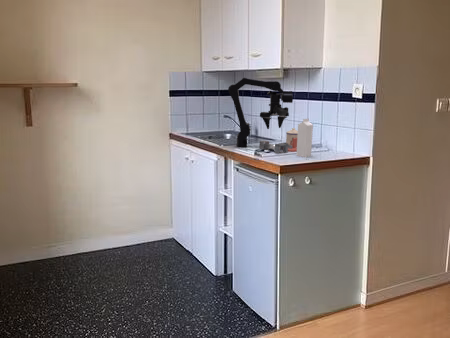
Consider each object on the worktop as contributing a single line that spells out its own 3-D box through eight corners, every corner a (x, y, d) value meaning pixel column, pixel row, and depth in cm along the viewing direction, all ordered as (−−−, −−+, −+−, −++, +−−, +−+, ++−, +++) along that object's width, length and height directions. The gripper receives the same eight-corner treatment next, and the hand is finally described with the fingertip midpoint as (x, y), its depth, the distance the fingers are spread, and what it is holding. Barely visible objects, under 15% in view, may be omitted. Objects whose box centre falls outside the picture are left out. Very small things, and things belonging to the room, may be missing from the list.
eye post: (274, 153, 264) (274, 144, 263) (284, 152, 269) (285, 143, 267) (277, 154, 262) (277, 144, 261) (287, 152, 267) (288, 143, 266)
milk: (310, 158, 259) (313, 118, 254) (305, 159, 254) (308, 119, 249) (301, 156, 262) (304, 117, 258) (295, 158, 258) (298, 118, 253)
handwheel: (292, 152, 267) (293, 140, 266) (279, 150, 273) (280, 139, 271) (303, 149, 276) (303, 138, 274) (290, 148, 281) (290, 137, 280)
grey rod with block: (259, 148, 278) (259, 141, 277) (264, 147, 280) (264, 140, 279) (276, 152, 266) (276, 144, 265) (281, 151, 268) (281, 144, 267)
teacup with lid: (290, 147, 291) (291, 129, 288) (282, 145, 299) (283, 127, 296) (306, 146, 296) (307, 128, 293) (298, 144, 304) (299, 126, 301)
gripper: (272, 104, 265) (271, 131, 268) (295, 103, 276) (294, 129, 279) (259, 102, 274) (258, 128, 277) (283, 101, 284) (281, 127, 288)
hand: (273, 128), depth 280 cm, fingers open, 9 cm apart
